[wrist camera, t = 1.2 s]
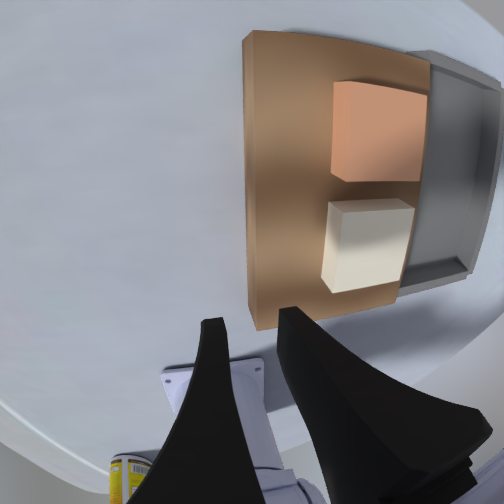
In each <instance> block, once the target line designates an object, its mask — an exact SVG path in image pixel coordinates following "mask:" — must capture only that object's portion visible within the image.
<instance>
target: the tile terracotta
mask: <svg viewBox="0 0 504 504" xmlns="http://www.w3.org/2000/svg"><path fill="white" fill-rule="evenodd" d="M426 109H427V96H426V95H422V94H418V93H413V92H409V91H404V90H399V89H394V88H389V87H384V86H378V85H372V84H366V83H360V82H352V81H343V82H334V99H333V135H332V157H331V173H332V174H334V175H335V176H337V177H339V178H341V179H342V180H344V181H346V182H355V181H419V180H420V173H421V165H422V157H423V147H424V137H425V125H426Z"/></svg>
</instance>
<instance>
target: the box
mask: <svg viewBox="0 0 504 504" xmlns="http://www.w3.org/2000/svg"><path fill="white" fill-rule="evenodd" d="M407 55H410V56H413V57H417V58H420V59H423V60H426V61H429V62H430V100H429V119H428V132H427V143H426V153H425V161H424V169H423V177H422V184H421V190H420V196H419V202H418V208H417V214H416V219H415V224H414V229H413V234H412V238H411V243H410V247H409V252H408V256H407V260H406V264H405V268H404V272H403V276H402V280H401V283H400V287H399V291H398V294H397V297H401V296H405V295H409V294H413V293H416V292H420V291H424V290H428V289H432V288H435V287H439V286H443V285H446V284H450V283H453V282H457V281H460V280H464V279H466V277H467V275H469V274H472V273H473V270H474V267H475V264H476V261H477V258H478V254H479V251H480V248H481V245H482V241H483V238H484V234H485V230H486V227H487V223H488V219H489V215H490V211H491V206H492V202H493V197H494V192H495V187H496V182H497V176H498V170H499V164H500V157H501V150H502V141H503V131H504V89H503V88H501V82H499V81H497V80H495V79H494V78H492V77H490V76H488V75H486V74H484V73H482V72H480V71H477V70H475V69H473V68H471V67H469V66H467V65H464V64H462V63H460V62H457V61H455V60H453V59H450V58H448V57H445V56H443V55H440V54H438V53H435V52H432V51H413V52H407Z"/></svg>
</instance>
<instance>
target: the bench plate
mask: <svg viewBox="0 0 504 504" xmlns="http://www.w3.org/2000/svg"><path fill="white" fill-rule="evenodd" d="M242 54H243V107H244V154H245V197H246V238H247V275H248V307H249V310H250V312H251V315H252V318H253V321H254V324H255V327H256V330H257V331H261V330H267V329H273V328H278V317H279V309H280V308H286V307H293V306H297V307H298V308H300V309H301V310H302V311H303V312H304V313H305V314H306V315H307V316H309V317H310V318H311V319H312V320H313V321H317V320H322V319H326V318H331V317H336V316H341V315H345V314H350V313H355V312H359V311H363V310H368V309H372V308H376V307H380V306H385V305H389V304H393V303H395V301H396V298H397V294H398V291H399V287H400V283H401V280H402V276H403V272H404V268H405V264H406V260H407V256H408V252H409V247H410V243H411V238H412V234H413V229H414V224H415V219H416V214H417V208H418V202H419V196H420V190H421V184H422V177H423V169H424V161H425V153H426V143H427V132H428V119H429V100H430V62H429V61H426V60H423V59H420V58H417V57H413V56H410V55H407V54H403V53H400V52H396V51H392V50H388V49H384V48H380V47H376V46H372V45H367V44H363V43H358V42H353V41H348V40H342V39H336V38H330V37H324V36H316V35H309V34H300V33H290V32H277V31H260V30H253V31H252V32H251V33H250V34H249V35H247V36H246V37H245V38H244V39H243V40H242ZM343 81H352V82H360V83H366V84H372V85H378V86H384V87H389V88H394V89H399V90H404V91H409V92H413V93H418V94H422V95H426V96H427V109H426V125H425V137H424V147H423V157H422V165H421V173H420V180H419V181H355V182H346V181H344V180H342V179H341V178H339V177H337V176H335V175H334V174H332V173H331V157H332V135H333V99H334V82H343ZM392 198H398V199H400V200H402V201H403V202H405V203H407V204H408V205H410V206H412V207H413V208H415V211H414V216H413V222H412V227H411V232H410V237H409V241H408V246H407V250H406V255H405V259H404V263H403V267H402V271H401V275H400V279H399V280H398V281H394V282H389V283H384V284H379V285H374V286H369V287H364V288H359V289H354V290H348V291H343V292H337V293H332V292H331V290H330V289H329V288H328V286H327V285H326V284H325V282H324V281H323V279H322V278H321V274H322V265H323V256H324V247H325V237H326V226H327V215H328V203H329V202H331V201H349V200H369V199H392Z"/></svg>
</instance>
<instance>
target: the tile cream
mask: <svg viewBox="0 0 504 504" xmlns="http://www.w3.org/2000/svg"><path fill="white" fill-rule="evenodd" d="M414 211H415V208H413V207H412V206H410V205H408V204H407V203H405V202H403V201H402V200H400V199H398V198H392V199H369V200H349V201H331V202H329V203H328V215H327V226H326V237H325V247H324V256H323V265H322V274H321V278H322V279H323V281H324V282H325V284H326V285H327V286H328V288H329V289H330V290H331V292H332V293H337V292H343V291H348V290H354V289H359V288H364V287H369V286H374V285H379V284H384V283H389V282H394V281H398V280H399V279H400V275H401V271H402V267H403V263H404V259H405V255H406V250H407V246H408V241H409V237H410V232H411V227H412V222H413V216H414Z"/></svg>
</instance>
